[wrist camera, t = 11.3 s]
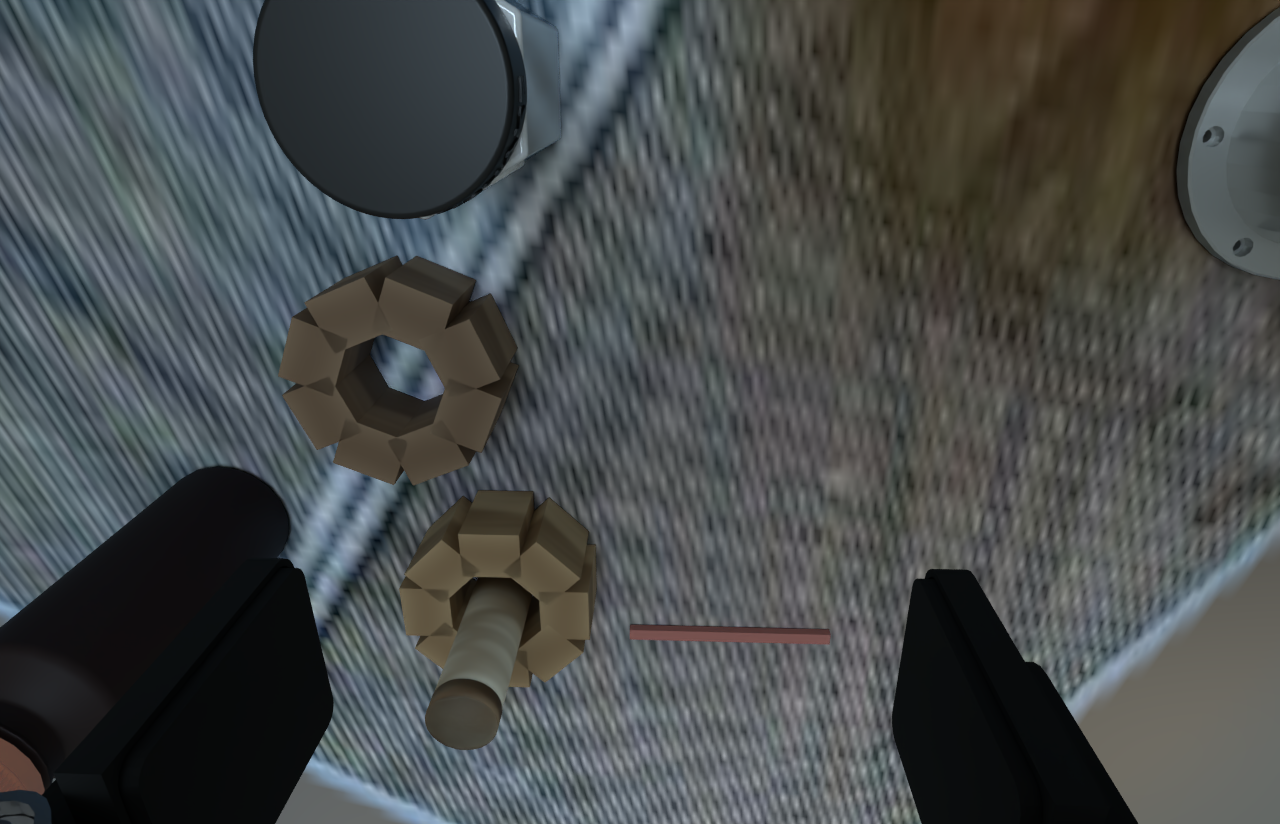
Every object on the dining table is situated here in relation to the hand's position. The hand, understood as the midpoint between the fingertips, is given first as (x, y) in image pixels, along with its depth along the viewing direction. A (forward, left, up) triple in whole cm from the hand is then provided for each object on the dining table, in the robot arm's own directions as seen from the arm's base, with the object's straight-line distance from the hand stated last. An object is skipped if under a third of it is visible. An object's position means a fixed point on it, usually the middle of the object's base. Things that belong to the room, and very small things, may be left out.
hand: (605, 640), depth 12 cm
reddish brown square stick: (-5, +23, -28) cm, 36 cm away
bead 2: (+8, +18, -28) cm, 34 cm away
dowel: (+8, +18, -28) cm, 34 cm away
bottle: (+24, +15, -28) cm, 40 cm away
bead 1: (+12, +5, -28) cm, 31 cm away
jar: (+8, -8, -28) cm, 30 cm away
